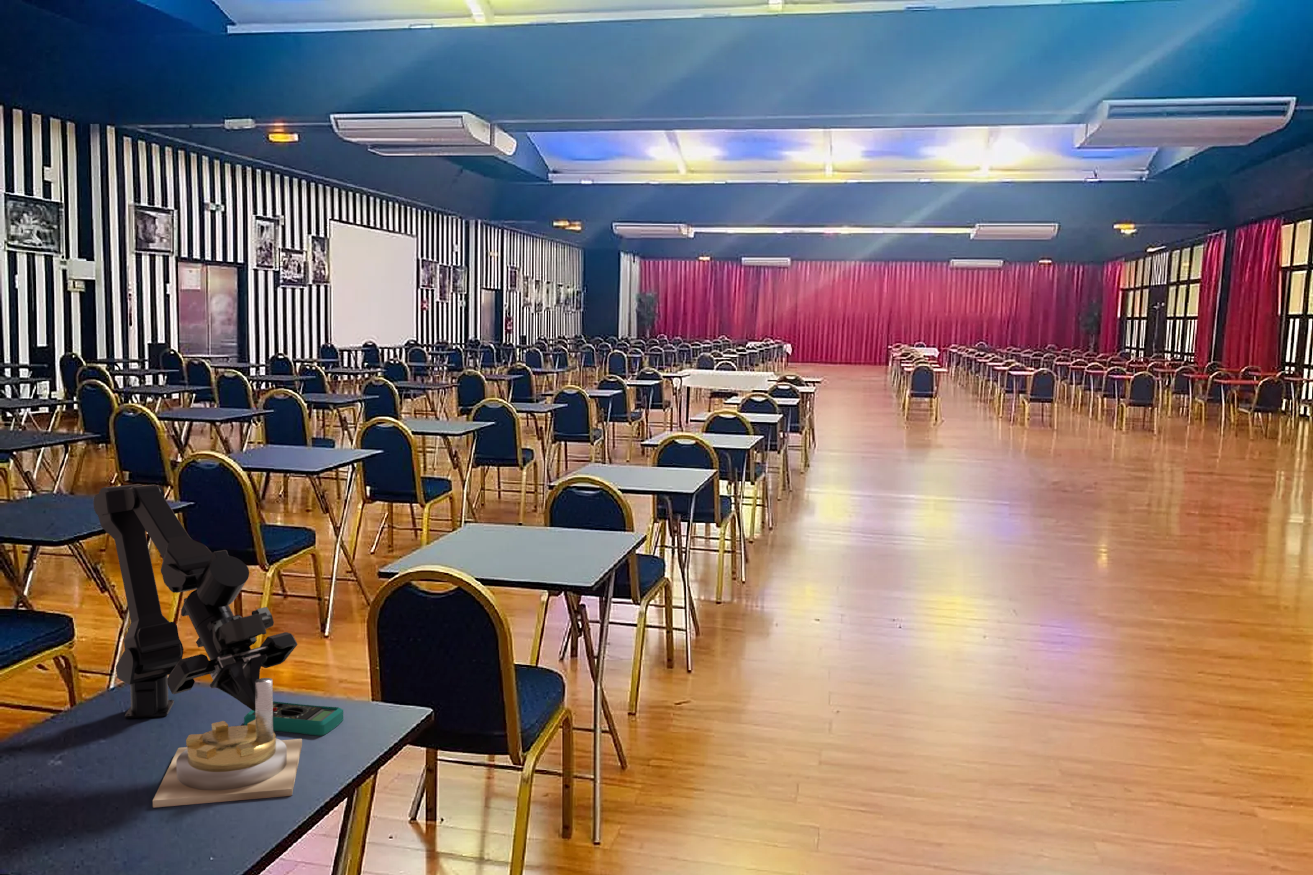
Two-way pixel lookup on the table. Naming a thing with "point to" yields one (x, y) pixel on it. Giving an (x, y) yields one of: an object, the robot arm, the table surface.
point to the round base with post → (237, 738)
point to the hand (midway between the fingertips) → (258, 709)
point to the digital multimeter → (302, 718)
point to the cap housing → (230, 779)
